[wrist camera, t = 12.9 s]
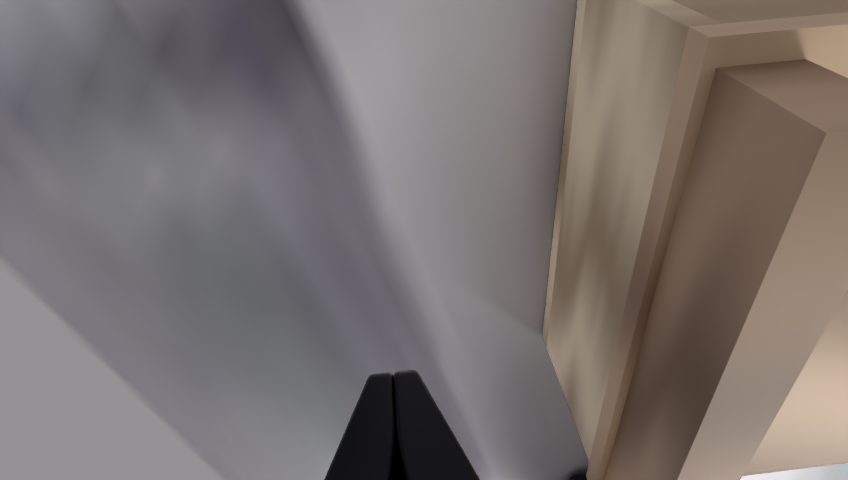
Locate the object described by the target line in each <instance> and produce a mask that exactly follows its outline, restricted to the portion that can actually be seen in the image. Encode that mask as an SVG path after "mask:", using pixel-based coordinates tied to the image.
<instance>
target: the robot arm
mask: <svg viewBox="0 0 848 480" xmlns="http://www.w3.org/2000/svg"><path fill="white" fill-rule="evenodd" d="M324 480H480V479H479V477H478V476H477V474H476V472H475V470H474V469H473V467H472V465H471V463H470V462H469V460H468V458H467V456H466V455H465V453H464V451H463V450H462V448H461V446H460V444H459V443H458V441H457V439H456V437H455V436H454V434H453V432H452V430H451V429H450V427H449V425H448V423H447V422H446V420H445V418H444V417H443V415H442V413H441V411H440V410H439V408H438V406H437V404H436V403H435V401H434V399H433V397H432V396H431V394H430V392H429V391H428V389H427V387H426V385H425V384H424V382H423V380H422V378H421V377H420V375H419V373H418V372H417V371H415V370H408V371H399V372H396V373H395V374H394V377H393V375H392V374H391V373H381V374H373V375H370V376H369V378H368V379H367V381H366V384H365V386H364V388H363V391H362V393H361V395H360V398H359V400H358V402H357V405H356V407H355V409H354V412H353V414H352V416H351V419H350V421H349V423H348V426H347V428H346V430H345V433H344V435H343V437H342V440H341V442H340V444H339V447H338V449H337V451H336V454H335V456H334V458H333V461H332V463H331V465H330V468H329V470H328V472H327V475H326V477H325V479H324ZM569 480H587V478H586V473H584V474H578V475H575V476H572V477H571V478H570V479H569Z"/></svg>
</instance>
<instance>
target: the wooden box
mask: <svg viewBox="0 0 848 480" xmlns="http://www.w3.org/2000/svg"><path fill="white" fill-rule="evenodd" d="M844 12H848V0H577V9H576V19H575V28H574V38H573V47H572V57H571V67H570V76H569V86H568V95H567V105H566V114H565V124H564V133H563V143H562V153H561V162H560V172H559V181H558V191H557V200H556V210H555V220H554V229H553V239H552V248H551V258H550V267H549V277H548V286H547V296H546V306H545V315H544V325H543V334H542V337H543V340H544V343H545V345H546V348H547V351H548V353H549V356H550V359H551V361H552V364H553V367H554V370H555V372H556V375H557V378H558V380H559V383H560V386H561V388H562V391H563V394H564V396H565V399H566V402H567V404H568V407H569V410H570V412H571V415H572V418H573V420H574V423H575V426H576V429H577V431H578V434H579V437H580V439H581V442H582V445H583V447H584V450H585V453H586V455H587V458H588V461H589V460H590V456H591V452H592V447H593V443H594V439H595V434H596V430H597V426H598V421H599V417H600V413H601V408H602V404H603V400H604V395H605V391H606V386H607V382H608V378H609V373H610V369H611V365H612V360H613V356H614V352H615V347H616V343H617V339H618V334H619V330H620V326H621V321H622V317H623V313H624V308H625V304H626V300H627V295H628V291H629V286H630V282H631V278H632V273H633V269H634V265H635V260H636V256H637V252H638V247H639V243H640V239H641V234H642V230H643V226H644V221H645V217H646V213H647V208H648V204H649V200H650V195H651V191H652V186H653V182H654V178H655V173H656V169H657V165H658V160H659V156H660V152H661V147H662V143H663V139H664V134H665V130H666V126H667V121H668V117H669V113H670V108H671V104H672V100H673V95H674V91H675V86H676V82H677V78H678V73H679V69H680V65H681V60H682V56H683V52H684V47H685V43H686V39H687V34H688V30H689V27H693V26H704V25H714V24H725V23H736V22H747V21H757V20H768V19H779V18H790V17H801V16H811V15H822V14H833V13H844Z"/></svg>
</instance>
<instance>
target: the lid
mask: <svg viewBox="0 0 848 480" xmlns="http://www.w3.org/2000/svg"><path fill="white" fill-rule="evenodd" d="M841 463H848V12H844V13H833V14H822V15H811V16H801V17H790V18H779V19H768V20H757V21H747V22H736V23H725V24H714V25H704V26H693V27H689V30H688V34H687V39H686V43H685V47H684V52H683V56H682V60H681V65H680V69H679V73H678V78H677V82H676V86H675V91H674V95H673V100H672V104H671V108H670V113H669V117H668V121H667V126H666V130H665V134H664V139H663V143H662V147H661V152H660V156H659V160H658V165H657V169H656V173H655V178H654V182H653V186H652V191H651V195H650V200H649V204H648V208H647V213H646V217H645V221H644V226H643V230H642V234H641V239H640V243H639V247H638V252H637V256H636V260H635V265H634V269H633V273H632V278H631V282H630V286H629V291H628V295H627V300H626V304H625V308H624V313H623V317H622V321H621V326H620V330H619V334H618V339H617V343H616V347H615V352H614V356H613V360H612V365H611V369H610V373H609V378H608V382H607V386H606V391H605V395H604V400H603V404H602V408H601V413H600V417H599V421H598V426H597V430H596V434H595V439H594V443H593V447H592V452H591V456H590V460H589V465H588V469H587V473H586V478H587V480H740V479H741V477H742V476H746V475H754V474H762V473H770V472H778V471H785V470H793V469H801V468H809V467H817V466H825V465H833V464H841Z"/></svg>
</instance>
